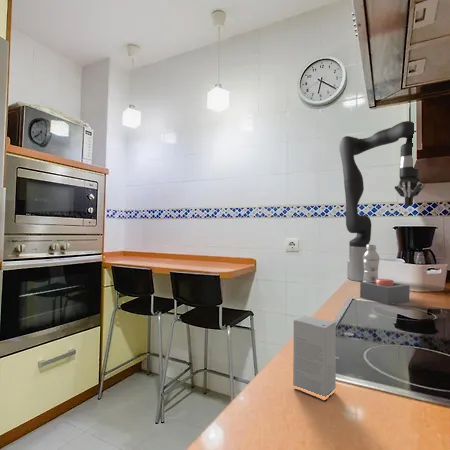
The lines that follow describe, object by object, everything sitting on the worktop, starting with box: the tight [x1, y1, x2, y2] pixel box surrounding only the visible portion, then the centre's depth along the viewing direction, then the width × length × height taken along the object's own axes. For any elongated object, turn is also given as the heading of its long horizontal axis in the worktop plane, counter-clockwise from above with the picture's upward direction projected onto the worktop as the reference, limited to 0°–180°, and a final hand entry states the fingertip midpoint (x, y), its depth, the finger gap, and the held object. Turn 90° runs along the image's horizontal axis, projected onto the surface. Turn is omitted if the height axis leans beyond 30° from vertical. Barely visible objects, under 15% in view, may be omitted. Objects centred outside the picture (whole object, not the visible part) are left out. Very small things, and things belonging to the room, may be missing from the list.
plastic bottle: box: [362, 244, 380, 282], centre depth 132 cm, size 6×7×20 cm
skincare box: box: [292, 315, 337, 397], centre depth 54 cm, size 6×4×12 cm
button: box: [376, 278, 394, 286], centre depth 120 cm, size 6×6×5 cm
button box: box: [359, 281, 411, 306], centre depth 120 cm, size 12×12×6 cm
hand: (408, 206), depth 140 cm, fingers closed
